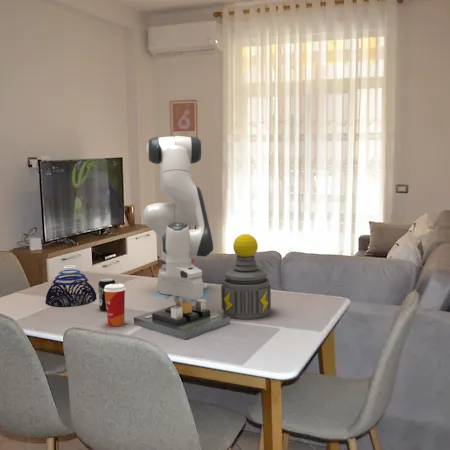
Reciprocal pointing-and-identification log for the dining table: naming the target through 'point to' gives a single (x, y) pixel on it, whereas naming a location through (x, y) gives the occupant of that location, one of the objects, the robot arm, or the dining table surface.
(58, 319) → the dining table surface
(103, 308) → the beverage can
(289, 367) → the dining table surface
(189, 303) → the block
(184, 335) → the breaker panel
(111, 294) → the paper cup
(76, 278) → the decorative bowl
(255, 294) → the decorative lamp
